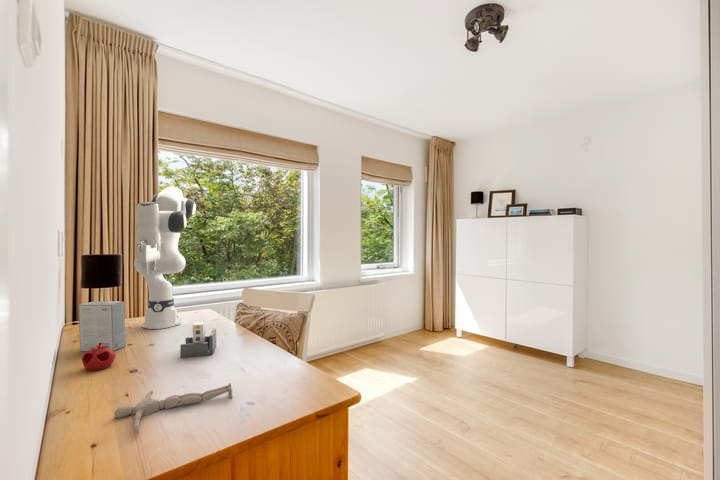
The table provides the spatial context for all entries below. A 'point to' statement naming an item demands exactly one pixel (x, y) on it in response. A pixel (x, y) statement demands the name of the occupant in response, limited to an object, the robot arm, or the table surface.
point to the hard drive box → (102, 325)
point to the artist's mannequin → (167, 403)
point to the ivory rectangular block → (198, 332)
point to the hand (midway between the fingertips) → (149, 272)
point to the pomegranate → (98, 358)
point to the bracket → (199, 346)
